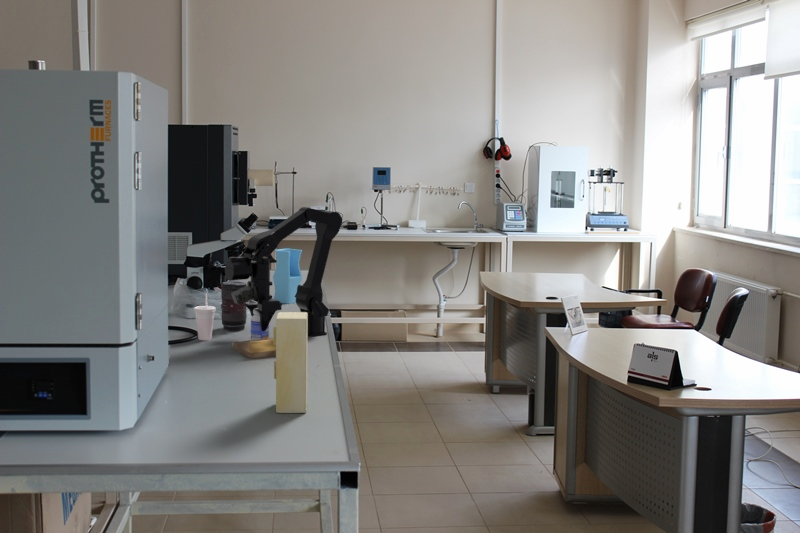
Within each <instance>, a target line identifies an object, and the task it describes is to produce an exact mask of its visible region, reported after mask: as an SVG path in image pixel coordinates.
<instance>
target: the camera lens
mask: <svg viewBox="0 0 800 533" xmlns="http://www.w3.org/2000/svg"><path fill="white" fill-rule="evenodd" d="M221 284H222V285H221V289H220V290H221V291H220V292H221V294H220V295H221V304H220V309H221V317H220V318H221V325H222V326H223V330H224V331H226V332H227V331H228V332H239V331H242V330H245V329H246V328H245V327H246V325H247V324H246V323H247V313H248V312H247V307H246V306H244V304H246V302H244V303H243V304H241V305H238V304H236V303H234V300H233V298H232V295H231V293H232V292H234V291H237V290H239V289H241V288H244V287H247V282H243V281H223V282H222V283H221Z"/></svg>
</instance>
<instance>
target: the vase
mask: <svg viewBox="0 0 800 533" xmlns="http://www.w3.org/2000/svg"><path fill="white" fill-rule="evenodd" d="M274 251H275V256H276V258H275V260H276V261H277V262H276V266H275V270H274V273H273V275H272V279H273V281H272V282H273V286H274V296H273V299H276V300H278V301H280V302H281V303H282V304H284V305H285V304H287V305H288V304H289V305H290V304H296V297H295V295H296V293H297V287H298V285H301V283H302V280H303V274H302V271H301V268H300V267H301V266H300V261H301V256H302V253H303V250H302V249H294V248H279V249H275V250H274Z"/></svg>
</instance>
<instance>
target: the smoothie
mask: <svg viewBox="0 0 800 533" xmlns="http://www.w3.org/2000/svg"><path fill="white" fill-rule="evenodd" d="M208 300H209V298H208V293H207V292H206V293H205V305H198V306H194V308H193V311H194V313H195V314H194V315H195V321H196V330H197V337H198V340H199V341H211V340H212V337H213V336H212V335H213V328H214V327H213V326H214V320H215V312H216V311H217V310H216V306H212V305H208V304H209V303H208Z"/></svg>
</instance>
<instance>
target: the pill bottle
mask: <svg viewBox="0 0 800 533" xmlns="http://www.w3.org/2000/svg"><path fill="white" fill-rule="evenodd" d="M255 309H258V308H255ZM255 309H253V314H254V316H251V317H250V341H253V340H263V339H270V324H269V325H268V327H267V329H266V331H262V329H261V322H260V315H259V313H258V312H257V311H256V310H255Z"/></svg>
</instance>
